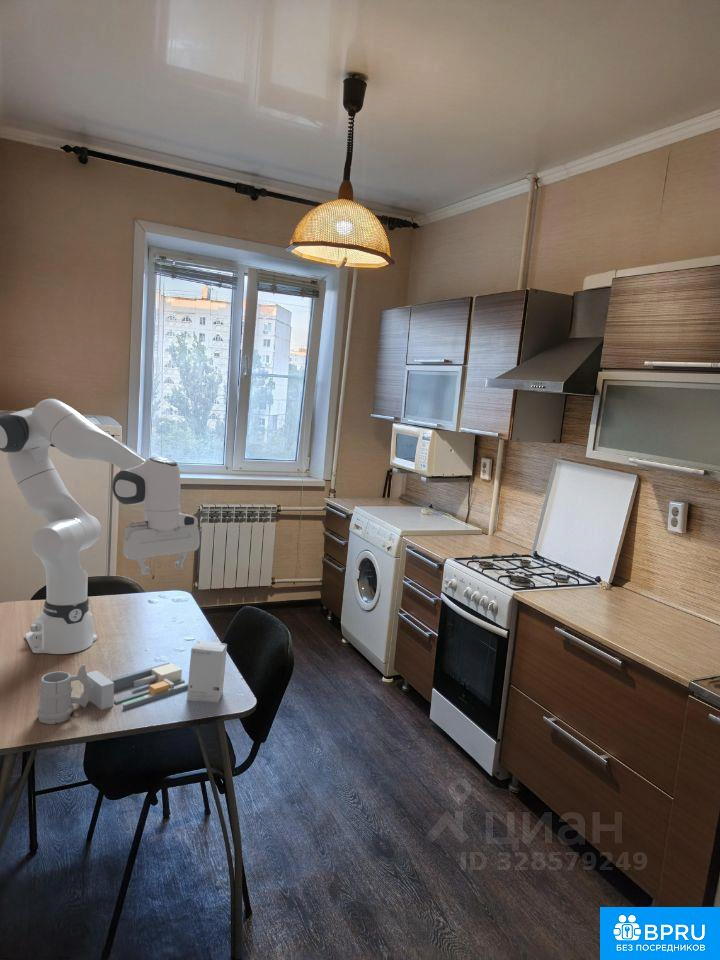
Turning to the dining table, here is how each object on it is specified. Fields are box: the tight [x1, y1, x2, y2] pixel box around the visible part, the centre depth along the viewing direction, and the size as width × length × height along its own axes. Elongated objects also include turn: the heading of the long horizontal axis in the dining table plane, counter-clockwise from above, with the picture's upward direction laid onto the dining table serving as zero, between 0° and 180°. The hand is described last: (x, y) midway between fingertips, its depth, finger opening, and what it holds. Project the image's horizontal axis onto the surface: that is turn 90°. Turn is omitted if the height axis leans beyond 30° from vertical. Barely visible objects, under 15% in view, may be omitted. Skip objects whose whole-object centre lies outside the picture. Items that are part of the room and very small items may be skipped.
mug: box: [36, 663, 92, 725], centre depth 149 cm, size 8×12×12 cm, turn 121°
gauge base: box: [87, 662, 188, 711], centre depth 163 cm, size 17×26×7 cm, turn 138°
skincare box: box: [186, 640, 228, 703], centre depth 161 cm, size 8×6×15 cm
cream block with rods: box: [133, 662, 183, 689], centre depth 164 cm, size 10×12×3 cm
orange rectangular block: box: [148, 681, 169, 696], centre depth 160 cm, size 3×4×2 cm, turn 138°
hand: (162, 571), depth 166 cm, fingers open, 8 cm apart
